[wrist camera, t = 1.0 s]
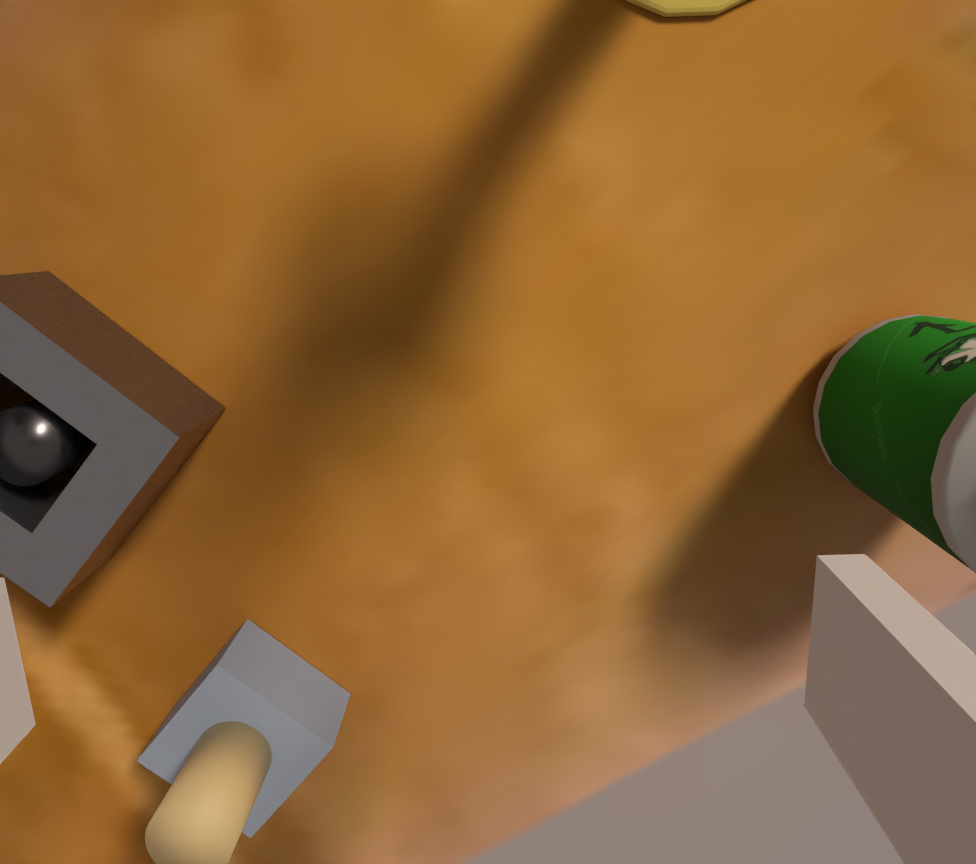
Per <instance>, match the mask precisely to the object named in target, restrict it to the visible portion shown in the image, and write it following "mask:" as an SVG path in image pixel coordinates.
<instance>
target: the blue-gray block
mask: <svg viewBox="0 0 976 864" xmlns="http://www.w3.org/2000/svg"><path fill="white" fill-rule="evenodd" d="M350 695H351V694H350V693H349V692H347V691H346V690H345V689H343V688H342V687H340V686H339V685H338V684H336V683H335V682H334V681H332V680H331V679H329V678H328V677H327V676H325V675H324V674H323V673H321V672H320V671H318V670H317V669H316V668H314V667H313V666H312V665H310V664H309V663H307V662H306V661H305V660H303V659H302V658H301V657H299V656H298V655H296V654H295V653H294V652H292V651H291V650H290V649H288V648H287V647H285V646H284V645H283V644H281V643H280V642H279V641H277V640H276V639H274V638H273V637H272V636H270V635H269V634H268V633H266V632H265V631H263V630H262V629H261V628H259V627H258V626H257V625H255V624H254V623H252V622H251V621H250V620H248V619H247V620H246V621H245V622H244V624H243V625H242V626H241V627H240V628H239V629H238V631H237V632H236V633H235V634H234V635H233V637H232V638H231V639H230V640H229V641H228V643H227V644H226V645H225V646H224V647H223V649H222V650H221V651H220V652H219V653H218V655H217V656H216V657H215V658H214V659H213V661H212V662H211V663H210V664H209V665H208V667H207V668H206V669H205V670H204V671H203V673H202V674H201V675H200V676H199V677H198V679H197V680H196V681H195V682H194V683H193V685H192V686H191V687H190V688H189V689H188V691H187V692H186V693H185V694H184V695H183V697H182V698H181V699H180V700H179V701H178V703H177V704H176V705H175V706H174V708H173V709H172V710H171V712H170V713H169V715H168V716H167V718H166V719H165V721H164V722H163V723H162V725H161V726H160V728H159V729H158V731H157V732H156V734H155V735H154V736H153V738H152V739H151V741H150V742H149V744H148V745H147V747H146V748H145V749H144V751H143V752H142V754H141V755H140V757H139V758H138V760H137V762H139V763H140V764H142V765H143V766H145V767H146V768H147V769H149V770H150V771H152V772H153V773H155V774H156V775H158V776H159V777H161V778H162V779H164V780H165V781H167V782H168V783H170V784H171V787H170V789H169V790H168V792H167V794H166V795H165V797H164V799H163V800H162V802H161V804H160V805H159V807H158V809H157V810H156V812H155V814H154V815H153V817H152V819H151V820H150V822H149V824H148V826H147V829H146V832H145V844H146V848H147V851H148V853H149V855H150V857H151V858H152V860H153V861H154V862H155V863H156V864H227V863H228V862H229V860H230V858H231V855H232V853H233V851H234V849H235V846H236V844H237V842H238V839H239V837H240V835H241V833H243V834H245V835H246V836H248V837H249V838H251V837H252V836H253V835H254V834H255V833H256V832H257V831H258V830H259V829H260V828H261V826H262V825H263V824H264V823H265V822H266V821H267V820H268V819H269V818H270V817H271V815H272V814H273V813H274V812H275V811H276V810H277V809H278V808H279V807H280V806H281V804H282V803H283V802H284V801H285V800H286V799H287V798H288V797H289V796H290V795H291V793H292V792H293V791H294V790H295V789H296V788H297V787H298V786H299V785H300V784H301V782H302V781H303V780H304V779H305V778H306V777H307V776H308V775H309V774H310V773H311V771H312V770H313V769H314V768H315V767H316V766H317V765H318V764H319V763H320V762H321V760H322V759H323V758H324V757H325V756H326V755H327V754H328V753H329V752H330V751H331V749H332V748H333V746H334V743H335V740H336V737H337V734H338V731H339V728H340V725H341V722H342V719H343V716H344V713H345V710H346V707H347V704H348V701H349V698H350Z"/></svg>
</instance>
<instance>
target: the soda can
mask: <svg viewBox="0 0 976 864" xmlns="http://www.w3.org/2000/svg"><path fill="white" fill-rule="evenodd" d="M813 416H814V425H815V435H816V438H817V440H818V442H819V444H820V447H821V449H822V451H823V453H824V455H825V457H826V459H827V461H828V462H829V463H830V464H831V465H832V466H833V467H834V468H835V469H836V470H837V471H838V472H839V473H840V474H841V475H842V476H843V477H844V478H845V479H846V480H848V481H849V482H850V483H852V484H853V485H855V486H856V487H857V488H859V489H860V490H861V491H863V492H864V493H866V494H867V495H868V496H870V497H871V498H873V499H874V500H875V501H877V502H878V503H880V504H881V505H882V506H884V507H885V508H886V509H888V510H889V511H891V512H892V513H893V514H895V515H896V516H898V517H899V518H900V519H902V520H903V521H904V522H906V523H907V524H909V525H910V526H911V527H913V528H914V529H916V530H917V531H918V532H920V533H921V534H923V535H924V536H925V537H927V538H928V539H929V540H931V541H932V542H934V543H935V544H936V545H938V546H939V547H941V548H942V549H943V550H945V551H946V552H947V553H949V554H950V555H952V556H953V557H954V558H956V559H957V560H959V561H960V562H961V563H963V564H964V565H965V566H967V567H968V568H970V569H971V570H972V571H974V572H975V573H976V324H975V323H970V322H965V321H960V320H955V319H950V318H944V317H936V316H928V315H919V314H912V315H907V316H902V317H897V318H892V319H886V320H883V321H881V322H879V323H877V324H875V325H873V326H871V327H869V328H867V329H865V330H864V331H862V332H860V333H858V334H856V335H855V336H854V337H853V338H852V339H851V340H850V341H849V342H848V343H847V344H846V345H844V346H843V347H842V348H841V349H840V350H839V351H838V352H837V353H836V354H835V355H834V356H833V358H832V360H831V362H830V363H829V365H828V367H827V369H826V370H825V372H824V374H823V376H822V377H821V379H820V381H819V384H818V388H817V393H816V397H815V402H814V406H813Z"/></svg>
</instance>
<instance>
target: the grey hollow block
mask: <svg viewBox="0 0 976 864" xmlns="http://www.w3.org/2000/svg"><path fill="white" fill-rule="evenodd" d="M30 395H31V396H32V397H34V398H35V399H37V400H38V401H39V402H41V403H42V404H43V405H45V406H46V407H47V408H49V409H50V410H51V411H53V412H54V413H55V414H57V415H58V416H59V417H61V418H62V419H63V420H65V421H66V422H68V423H69V424H70V425H72V426H73V427H74V428H76V429H77V430H78V431H80V432H81V433H82V434H84V435H85V436H86V437H88V438H89V439H90V440H92V441H93V442H94V443H96V444H97V446H96V447H95V448H94V450H93V451H92V452H91V454H90V455H89V456H88V458H87V459H86V461H85V462H84V463H83V465H82V466H81V467H80V469H79V470H78V471H77V473H76V474H75V475H74V474H72V473H71V472H70V471H68V470H67V469H66V470H64V471H62V472H60V473H58V474H56V475H55V476H53V477H51V478H49V479H47V480H45V481H43V482H41V483H39V484H36V485H32V486H19V485H14V484H11V483H9V482H7V481H4V480H3V479H1V478H0V573H1V574H2V575H4V576H5V577H7V578H8V579H10V580H11V581H13V582H14V583H15V584H17V585H18V586H20V587H21V588H23V589H24V590H25V591H27V592H28V593H30V594H31V595H33V596H34V597H35V598H37V599H38V600H40V601H41V602H43V603H44V604H45V605H47V606H48V607H50V608H51V607H52V606H53V605H54V604H56V603H57V602H58V601H59V600H60V599H62V598H63V597H64V596H65V595H66V594H68V593H69V592H70V591H71V590H72V589H74V588H75V587H76V586H77V585H78V584H80V583H81V582H82V581H83V580H84V579H86V578H87V577H88V576H89V575H90V574H92V573H93V572H94V571H95V570H97V569H98V568H99V567H100V566H101V565H103V564H104V563H105V562H106V561H107V560H109V559H110V558H111V557H112V556H113V555H114V553H115V552H116V551H117V549H118V548H119V547H120V545H121V544H122V543H123V542H124V540H125V539H126V538H127V536H128V535H129V534H130V532H131V531H132V530H133V528H134V527H135V526H136V525H137V523H138V522H139V521H140V519H141V518H142V517H143V515H144V514H145V513H146V512H147V510H148V509H149V508H150V506H151V505H152V504H153V502H154V501H155V500H156V499H157V497H158V496H159V495H160V493H161V492H162V491H163V489H164V488H165V487H166V486H167V484H168V483H169V482H170V480H171V479H172V478H173V476H174V475H175V474H176V473H177V471H178V470H179V469H180V467H181V466H182V465H183V463H184V462H185V461H186V459H187V458H188V457H189V456H190V454H191V453H192V452H193V450H194V449H195V448H196V446H197V445H198V444H199V443H200V441H201V440H202V439H203V437H204V436H205V435H206V433H207V432H208V431H209V430H210V428H211V427H212V426H213V424H214V423H215V422H216V420H217V419H218V418H219V417H220V415H221V414H222V413H223V411H224V410H225V409H226V408H225V407H224V406H222V405H221V404H220V403H218V402H217V401H216V400H215V399H213V398H212V397H211V396H209V395H208V394H207V393H205V392H204V391H203V390H202V389H200V388H199V387H198V386H196V385H195V384H194V383H193V382H191V381H190V380H189V379H187V378H186V377H185V376H183V375H182V374H181V373H180V372H178V371H177V370H176V369H174V368H173V367H172V366H170V365H169V364H168V363H167V362H165V361H164V360H163V359H161V358H160V357H159V356H158V355H156V354H155V353H154V352H152V351H151V350H150V349H148V348H147V347H146V346H145V345H143V344H142V343H141V342H139V341H138V340H137V339H135V338H134V337H133V336H132V335H130V334H129V333H128V332H126V331H125V330H124V329H123V328H121V327H120V326H119V325H117V324H116V323H115V322H113V321H112V320H111V319H110V318H108V317H107V316H106V315H104V314H103V313H102V312H100V311H99V310H98V309H97V308H95V307H94V306H93V305H91V304H90V303H89V302H88V301H86V300H85V299H84V298H82V297H81V296H80V295H78V294H77V293H76V292H75V291H73V290H72V289H71V288H69V287H68V286H67V285H65V284H64V283H63V282H62V281H60V280H59V279H58V278H56V277H55V276H54V275H52V274H51V273H50V272H49V271H46V272H34V273H23V274H11V275H0V412H1V411H4V410H7V409H10V408H12V407H15V406H18V405H21V404H24V403H25V402H26V401H27V399H28V398H29V397H30Z"/></svg>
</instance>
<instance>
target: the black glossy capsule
mask: <svg viewBox="0 0 976 864" xmlns="http://www.w3.org/2000/svg"><path fill="white" fill-rule="evenodd" d="M96 446H97V444H96V443H94V442H93V441H92V440H90V439H89V438H88V437H86V436H85V435H84V434H82V433H81V432H80V431H78V430H77V429H76V428H74V427H73V426H72V425H70V424H69V423H68V422H66V421H65V420H63V419H62V418H61V417H59V416H58V415H57V414H55V413H54V412H53V411H51V410H50V409H49V408H47V407H46V406H45V405H43V404H42V403H41V402H39V401H38V400H37V399H35V400H32V401H29V402H26V403H24V404H21V405H18V406H15V407H12V408H10V409H7V410H4V411H1V412H0V478H1V479H3V480H4V481H7V482H9V483H11V484H14V485H19V486H32V485H36V484H39V483H41V482H43V481H45V480H47V479H49V478H51V477H53V476H55V475H56V474H58V473H60V472H62V471H64V470H66V469H67V468H69V467H71V466H73V465H75V464H77V463H78V462H80V461H82V460H84V459H86V458H88V456H89V455H90V454H91V452H92V451H93V450H94V448H95V447H96Z"/></svg>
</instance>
